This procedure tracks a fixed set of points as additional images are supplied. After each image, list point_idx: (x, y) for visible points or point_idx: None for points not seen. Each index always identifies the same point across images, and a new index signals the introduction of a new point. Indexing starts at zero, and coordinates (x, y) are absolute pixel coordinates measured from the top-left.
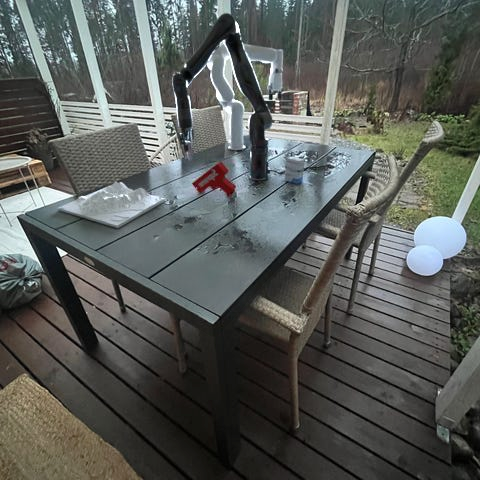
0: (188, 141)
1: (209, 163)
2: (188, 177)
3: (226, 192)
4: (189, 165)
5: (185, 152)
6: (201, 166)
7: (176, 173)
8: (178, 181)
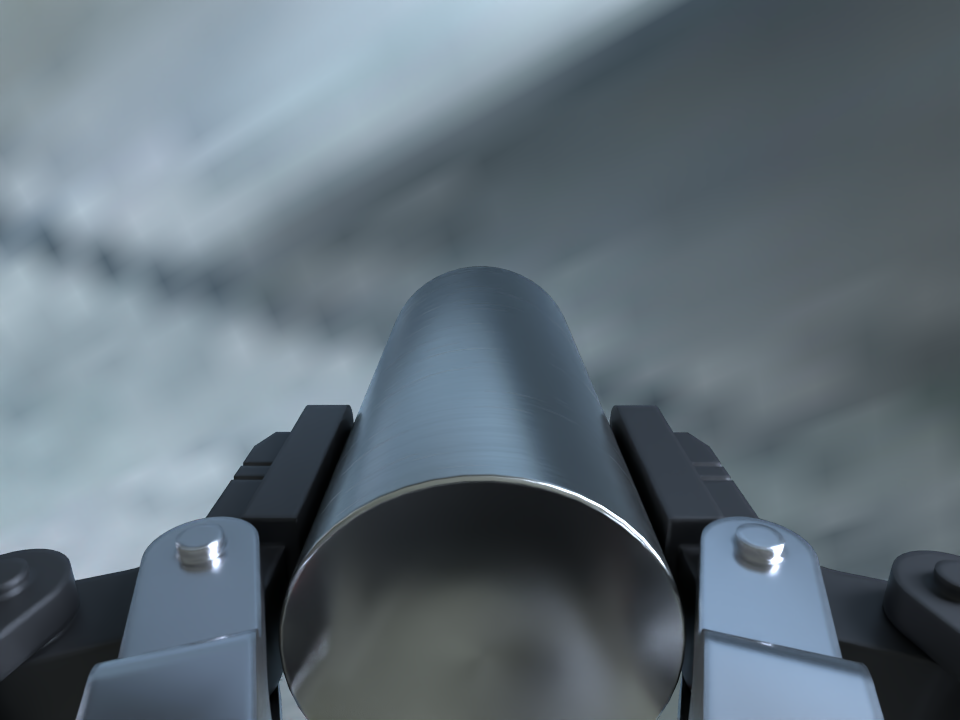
0: (519, 679)
1: (940, 401)
2: (214, 375)
3: None
4: (790, 105)
5: (370, 386)
6: (761, 343)
7: (297, 91)
8: (5, 314)
